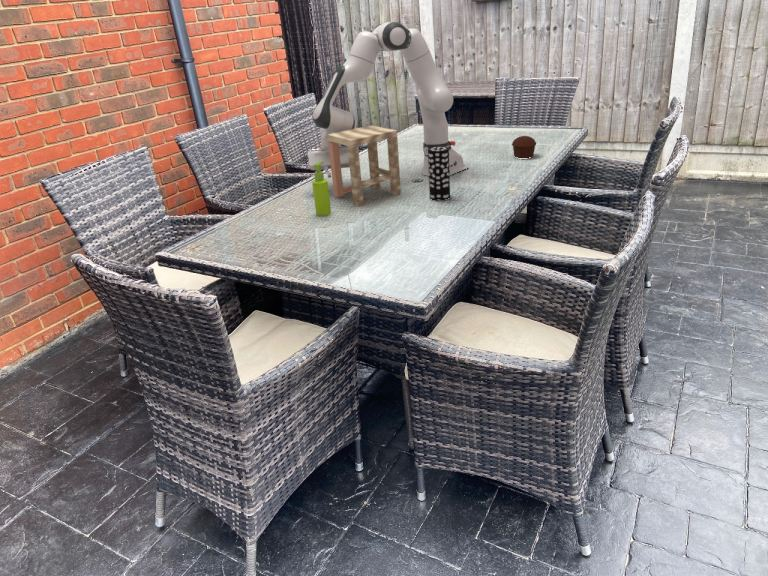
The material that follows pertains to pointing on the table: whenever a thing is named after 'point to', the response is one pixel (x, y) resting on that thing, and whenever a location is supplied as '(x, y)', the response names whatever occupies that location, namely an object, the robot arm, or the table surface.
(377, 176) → the stool
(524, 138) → the muffin
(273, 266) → the table surface
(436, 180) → the spotted tube
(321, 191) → the soap dispenser
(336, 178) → the hinged leg
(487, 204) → the table surface
